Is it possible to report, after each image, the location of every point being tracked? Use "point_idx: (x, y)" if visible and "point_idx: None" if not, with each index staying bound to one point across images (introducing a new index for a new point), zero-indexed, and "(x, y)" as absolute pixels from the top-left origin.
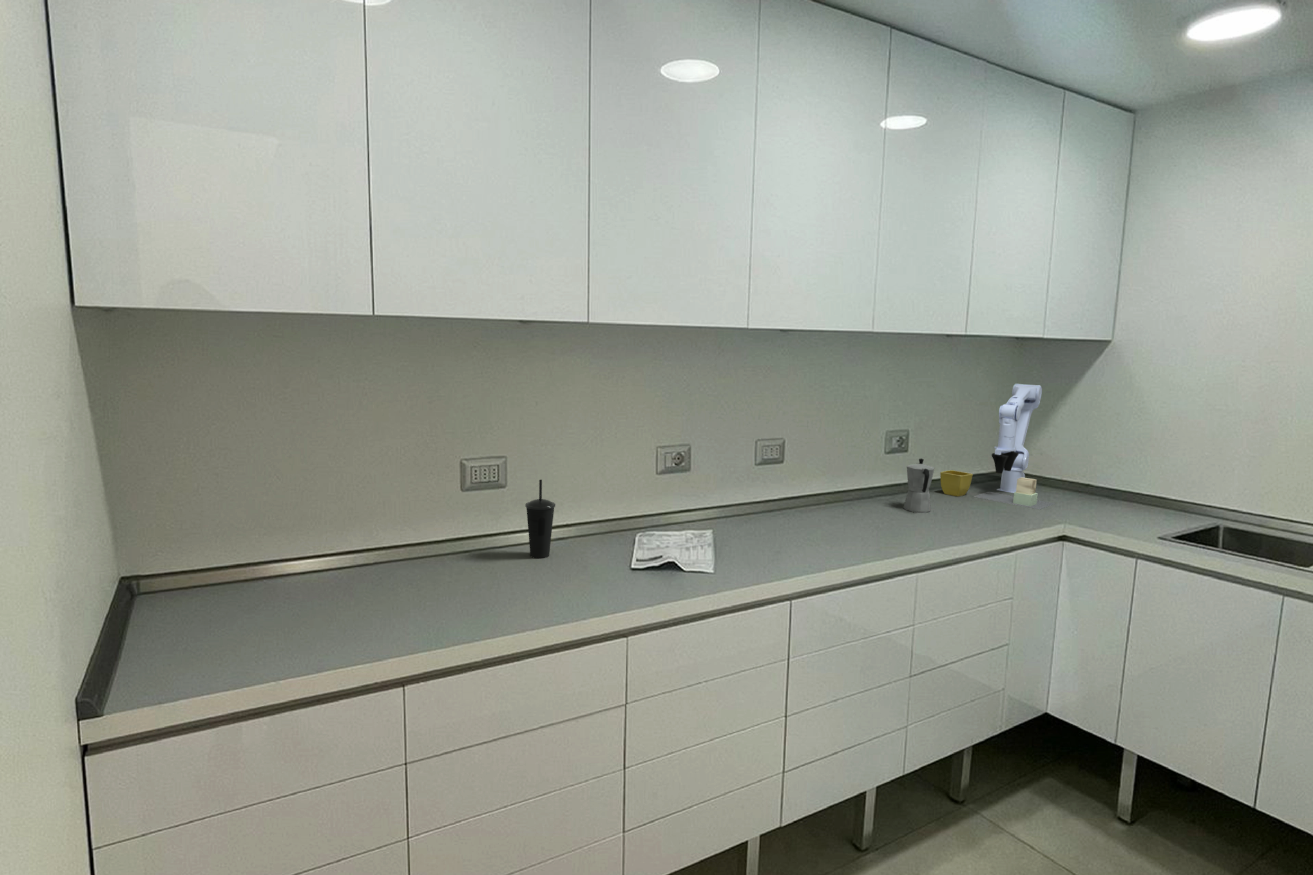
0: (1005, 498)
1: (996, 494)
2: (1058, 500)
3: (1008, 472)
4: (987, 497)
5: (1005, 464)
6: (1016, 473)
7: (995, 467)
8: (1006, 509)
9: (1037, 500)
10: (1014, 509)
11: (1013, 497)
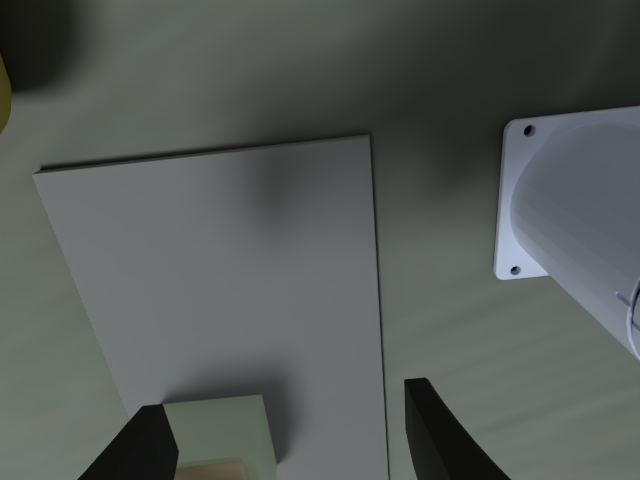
0: (238, 325)
1: (308, 228)
2: (536, 450)
3: (613, 291)
4: (132, 251)
5: (428, 452)
6: (631, 352)
7: (99, 457)
8: (12, 432)
9: (380, 431)
10: (62, 448)
11: (325, 334)
